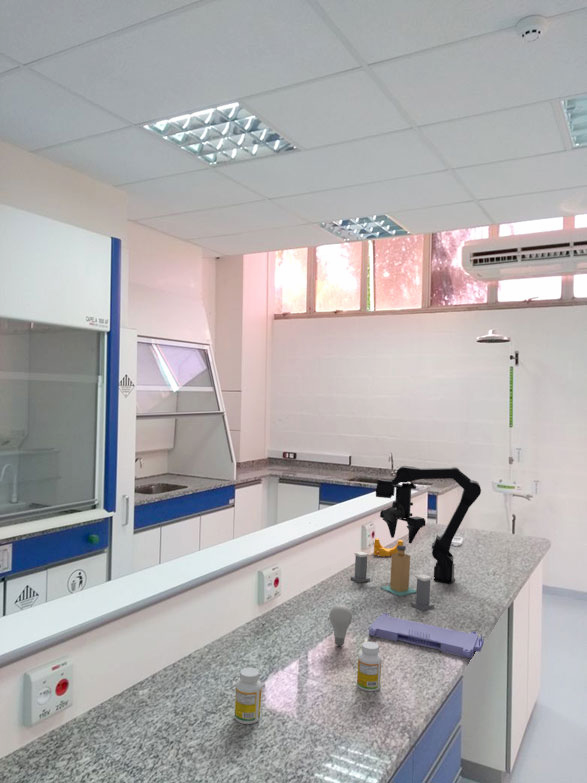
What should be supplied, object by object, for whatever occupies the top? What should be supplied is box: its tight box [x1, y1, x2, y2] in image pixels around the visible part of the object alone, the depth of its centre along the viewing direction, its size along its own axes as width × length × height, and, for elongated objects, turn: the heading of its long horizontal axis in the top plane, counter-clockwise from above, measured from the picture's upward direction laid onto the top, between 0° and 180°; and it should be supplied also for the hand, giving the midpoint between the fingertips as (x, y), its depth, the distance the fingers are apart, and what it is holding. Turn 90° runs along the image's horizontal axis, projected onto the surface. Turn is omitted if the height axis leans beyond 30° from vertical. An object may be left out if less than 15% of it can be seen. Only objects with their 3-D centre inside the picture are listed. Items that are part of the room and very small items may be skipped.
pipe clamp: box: [373, 537, 404, 558], centre depth 253 cm, size 12×4×6 cm, turn 85°
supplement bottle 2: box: [356, 641, 382, 692], centre depth 140 cm, size 5×5×10 cm
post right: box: [350, 551, 371, 584], centre depth 218 cm, size 5×5×10 cm
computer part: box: [368, 612, 485, 659], centre depth 168 cm, size 30×4×15 cm
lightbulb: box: [328, 604, 353, 647], centre depth 161 cm, size 6×6×11 cm
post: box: [410, 573, 435, 611], centre depth 194 cm, size 5×5×10 cm
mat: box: [380, 585, 417, 597], centre depth 209 cm, size 9×9×1 cm
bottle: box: [389, 544, 411, 592], centre depth 209 cm, size 4×4×15 cm
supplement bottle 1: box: [234, 667, 263, 725], centre depth 124 cm, size 5×5×10 cm
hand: (401, 540), depth 227 cm, fingers open, 9 cm apart
